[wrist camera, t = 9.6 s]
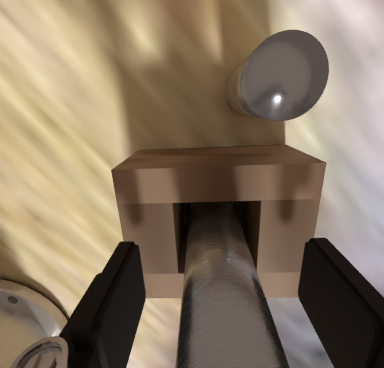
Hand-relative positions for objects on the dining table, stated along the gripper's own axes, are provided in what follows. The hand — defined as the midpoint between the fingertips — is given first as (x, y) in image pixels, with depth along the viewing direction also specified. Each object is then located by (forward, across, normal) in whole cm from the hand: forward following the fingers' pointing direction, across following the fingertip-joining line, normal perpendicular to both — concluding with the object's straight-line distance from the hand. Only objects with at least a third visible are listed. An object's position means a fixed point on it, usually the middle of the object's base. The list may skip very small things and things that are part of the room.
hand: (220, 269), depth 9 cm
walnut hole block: (+7, 0, 0) cm, 7 cm away
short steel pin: (+7, -2, -8) cm, 11 cm away
